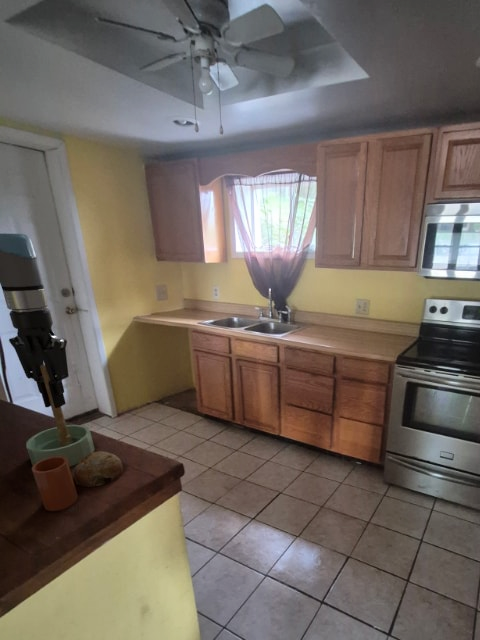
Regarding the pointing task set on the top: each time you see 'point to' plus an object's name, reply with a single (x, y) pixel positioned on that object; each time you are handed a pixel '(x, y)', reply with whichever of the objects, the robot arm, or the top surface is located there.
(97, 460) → the bread roll
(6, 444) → the top surface
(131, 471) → the top surface
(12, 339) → the robot arm
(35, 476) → the crock
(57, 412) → the stirring stick
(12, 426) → the top surface
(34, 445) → the bowl
